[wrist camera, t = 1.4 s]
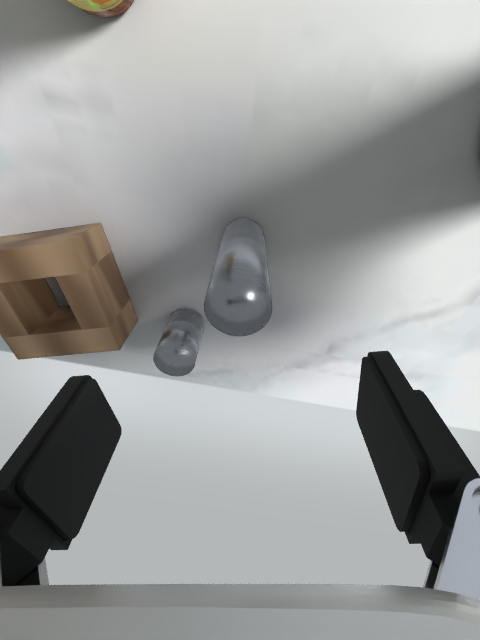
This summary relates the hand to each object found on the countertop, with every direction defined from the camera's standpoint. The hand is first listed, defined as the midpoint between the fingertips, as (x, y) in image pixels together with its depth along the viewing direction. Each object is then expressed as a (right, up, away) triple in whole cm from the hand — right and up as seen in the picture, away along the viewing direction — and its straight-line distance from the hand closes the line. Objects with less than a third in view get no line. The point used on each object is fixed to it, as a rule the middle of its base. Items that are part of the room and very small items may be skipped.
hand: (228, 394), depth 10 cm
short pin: (-5, +2, +20) cm, 21 cm away
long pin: (+1, +10, +15) cm, 18 cm away
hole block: (-16, +6, +18) cm, 25 cm away
